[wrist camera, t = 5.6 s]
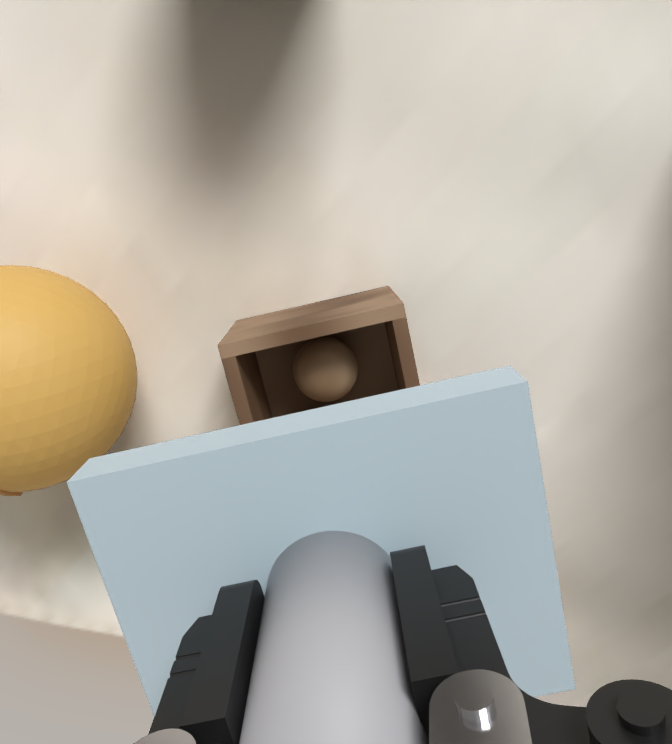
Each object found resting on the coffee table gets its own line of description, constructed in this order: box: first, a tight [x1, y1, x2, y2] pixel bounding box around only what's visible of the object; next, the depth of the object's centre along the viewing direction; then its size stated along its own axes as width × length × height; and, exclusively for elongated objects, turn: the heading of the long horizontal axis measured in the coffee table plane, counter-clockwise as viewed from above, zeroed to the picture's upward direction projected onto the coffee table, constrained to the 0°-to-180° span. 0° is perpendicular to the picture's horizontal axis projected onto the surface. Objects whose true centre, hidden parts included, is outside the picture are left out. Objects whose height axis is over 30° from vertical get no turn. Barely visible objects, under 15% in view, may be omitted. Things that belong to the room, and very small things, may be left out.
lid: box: [67, 366, 575, 744], centre depth 11 cm, size 9×7×7 cm
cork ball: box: [293, 337, 358, 402], centre depth 30 cm, size 3×3×3 cm
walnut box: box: [218, 286, 420, 425], centre depth 30 cm, size 8×6×6 cm
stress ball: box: [0, 265, 137, 496], centre depth 27 cm, size 10×10×10 cm
